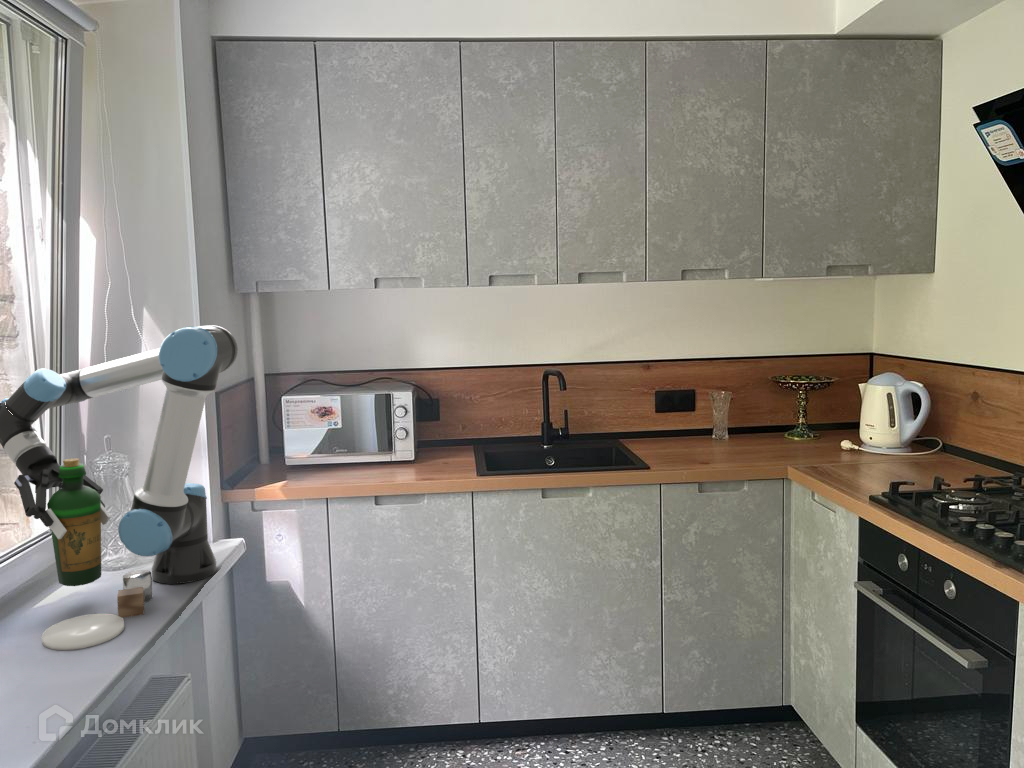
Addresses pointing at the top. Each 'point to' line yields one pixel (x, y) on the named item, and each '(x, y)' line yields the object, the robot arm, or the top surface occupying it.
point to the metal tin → (139, 582)
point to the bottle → (77, 527)
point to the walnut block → (130, 602)
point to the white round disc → (82, 631)
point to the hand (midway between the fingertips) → (85, 527)
